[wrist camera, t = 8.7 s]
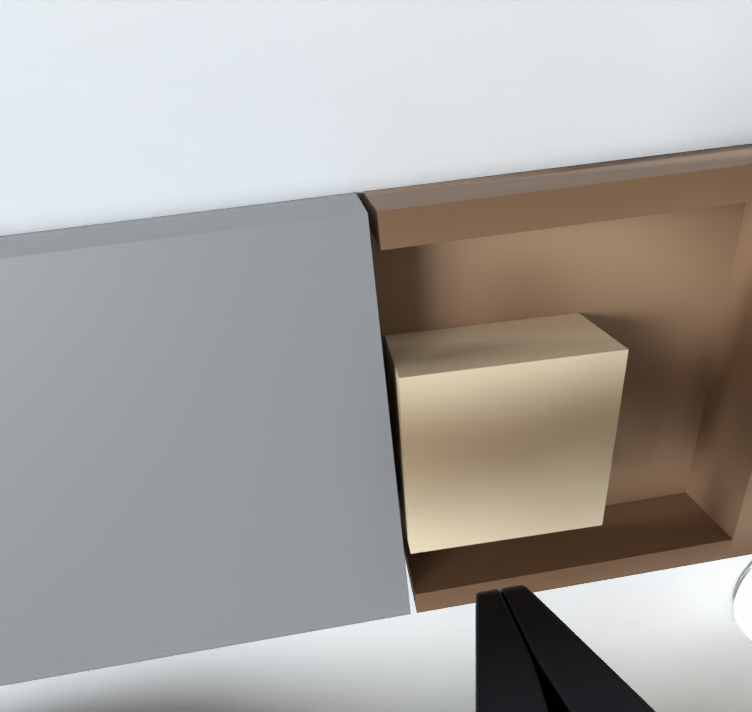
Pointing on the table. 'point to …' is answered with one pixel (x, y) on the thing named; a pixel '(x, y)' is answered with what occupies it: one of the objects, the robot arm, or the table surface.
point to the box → (619, 320)
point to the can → (744, 602)
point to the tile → (503, 428)
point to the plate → (192, 436)
